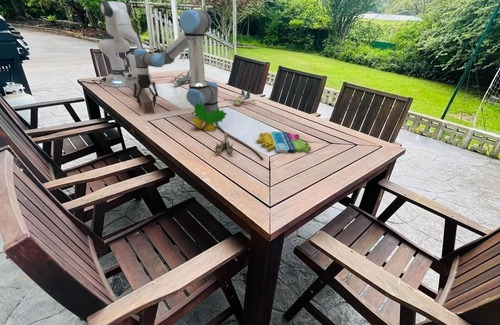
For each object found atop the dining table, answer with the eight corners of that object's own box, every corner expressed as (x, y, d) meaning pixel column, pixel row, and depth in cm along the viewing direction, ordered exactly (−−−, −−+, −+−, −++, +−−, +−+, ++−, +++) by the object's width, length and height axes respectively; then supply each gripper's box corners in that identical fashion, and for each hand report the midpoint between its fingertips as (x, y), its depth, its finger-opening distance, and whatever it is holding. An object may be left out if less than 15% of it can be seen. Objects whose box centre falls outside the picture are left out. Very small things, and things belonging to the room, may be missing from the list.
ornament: (218, 133, 171) (224, 110, 169) (221, 134, 163) (227, 111, 161) (186, 125, 162) (192, 101, 160) (189, 126, 155) (195, 101, 153)
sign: (313, 150, 142) (258, 149, 139) (312, 153, 143) (258, 152, 140) (301, 132, 164) (254, 130, 161) (301, 134, 165) (254, 133, 162)
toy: (261, 91, 228) (254, 99, 202) (261, 99, 231) (253, 108, 205) (231, 87, 233) (220, 95, 207) (230, 95, 236) (219, 104, 210)
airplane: (164, 79, 274) (163, 69, 268) (194, 77, 287) (193, 68, 282) (173, 89, 245) (172, 78, 240) (205, 86, 258) (205, 76, 253)
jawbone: (234, 135, 144) (233, 125, 135) (233, 160, 138) (232, 151, 129) (217, 135, 144) (216, 125, 135) (216, 160, 138) (214, 150, 129)
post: (153, 112, 184) (152, 102, 180) (145, 113, 181) (143, 102, 177) (142, 93, 224) (141, 84, 220) (135, 93, 222) (134, 84, 218)
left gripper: (150, 72, 215) (152, 89, 222) (123, 73, 206) (125, 91, 213) (151, 74, 210) (153, 91, 217) (123, 75, 202) (126, 93, 208)
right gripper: (158, 72, 183) (161, 103, 194) (125, 73, 174) (130, 106, 185) (160, 74, 178) (164, 106, 189) (126, 75, 168) (131, 109, 179)
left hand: (139, 91), depth 215 cm, fingers open, 6 cm apart
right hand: (147, 106), depth 187 cm, fingers open, 9 cm apart
